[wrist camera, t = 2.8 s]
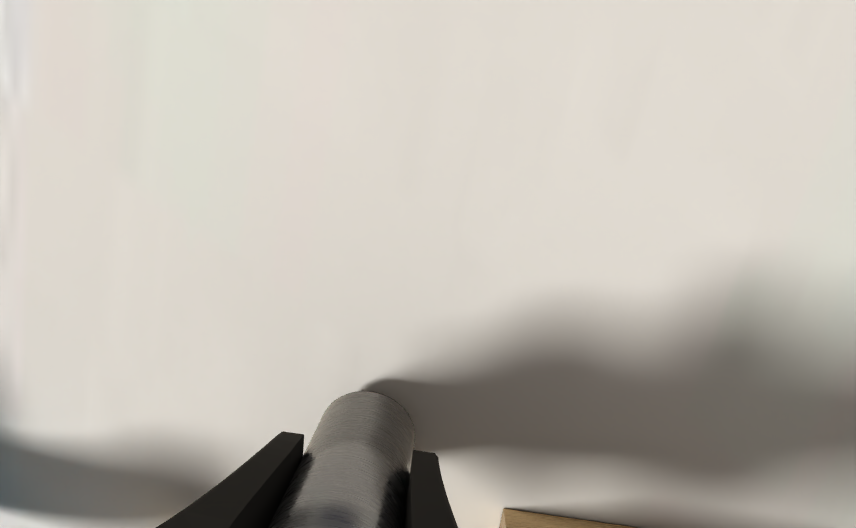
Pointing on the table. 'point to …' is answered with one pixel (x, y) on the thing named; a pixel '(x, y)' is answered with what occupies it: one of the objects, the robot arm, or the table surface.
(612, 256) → the table surface
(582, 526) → the tan wooden bar
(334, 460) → the pin
